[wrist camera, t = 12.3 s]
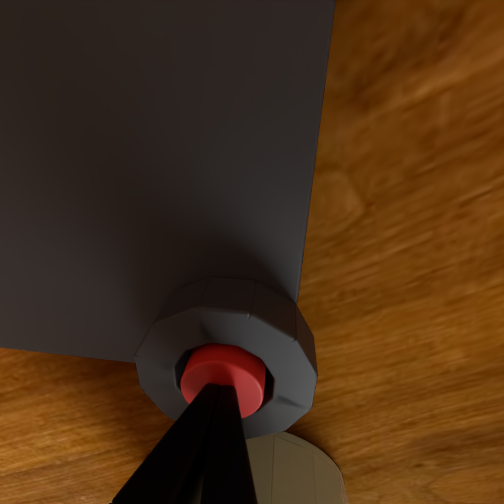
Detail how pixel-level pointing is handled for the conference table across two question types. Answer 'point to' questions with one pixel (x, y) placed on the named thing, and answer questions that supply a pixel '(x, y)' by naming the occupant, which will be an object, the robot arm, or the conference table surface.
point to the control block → (162, 185)
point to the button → (226, 374)
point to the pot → (293, 472)
